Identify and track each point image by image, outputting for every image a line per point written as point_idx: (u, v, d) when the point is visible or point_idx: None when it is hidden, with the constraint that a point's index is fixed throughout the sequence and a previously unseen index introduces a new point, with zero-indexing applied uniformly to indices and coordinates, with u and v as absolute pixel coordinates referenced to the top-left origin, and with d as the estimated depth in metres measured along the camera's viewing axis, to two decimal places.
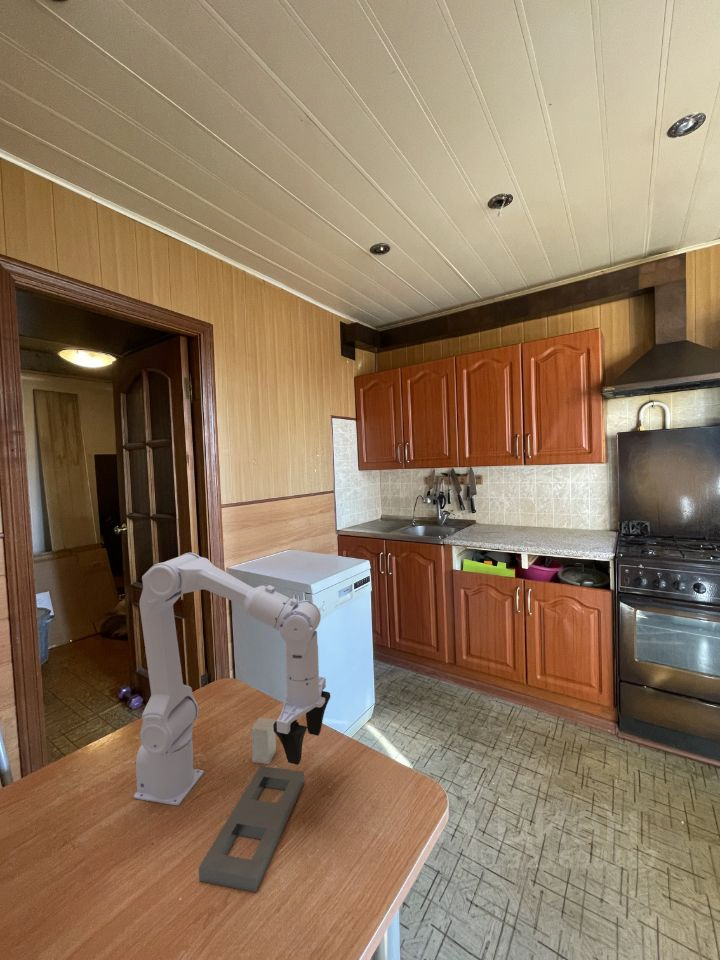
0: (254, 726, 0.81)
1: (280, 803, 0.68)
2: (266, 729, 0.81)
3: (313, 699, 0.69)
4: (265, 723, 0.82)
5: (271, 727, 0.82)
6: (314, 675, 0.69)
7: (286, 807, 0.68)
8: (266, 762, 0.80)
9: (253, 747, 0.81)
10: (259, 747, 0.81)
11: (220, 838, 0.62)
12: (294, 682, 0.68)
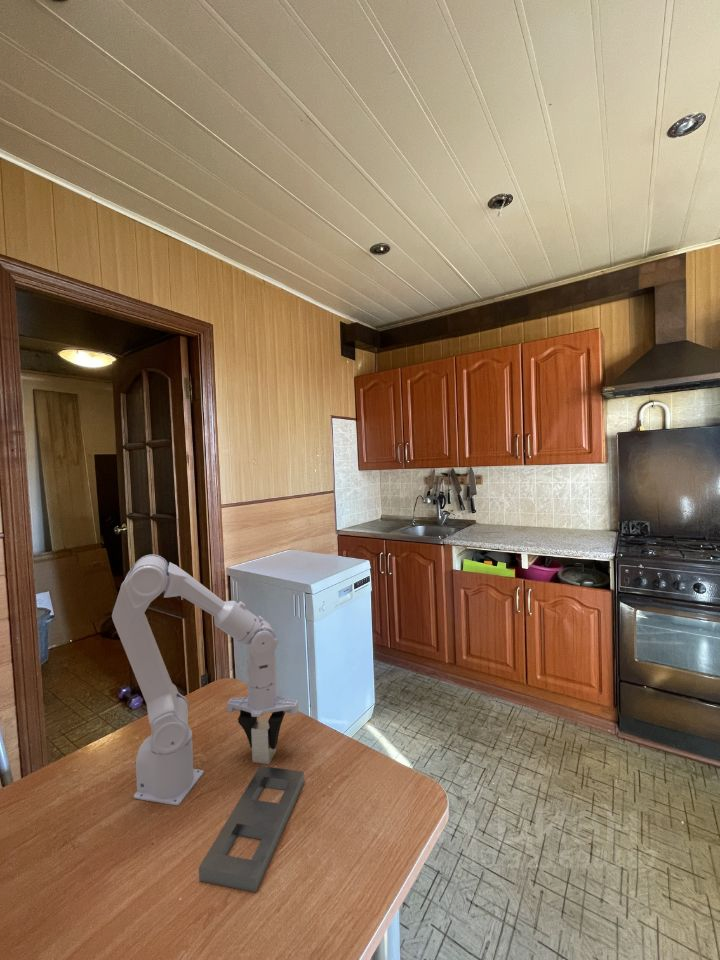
0: (254, 726, 0.81)
1: (280, 803, 0.68)
2: (266, 729, 0.81)
3: (252, 706, 0.80)
4: (265, 723, 0.82)
5: None
6: (275, 679, 0.82)
7: (286, 807, 0.68)
8: (266, 762, 0.80)
9: (253, 747, 0.81)
10: (259, 747, 0.81)
11: (220, 838, 0.62)
12: None
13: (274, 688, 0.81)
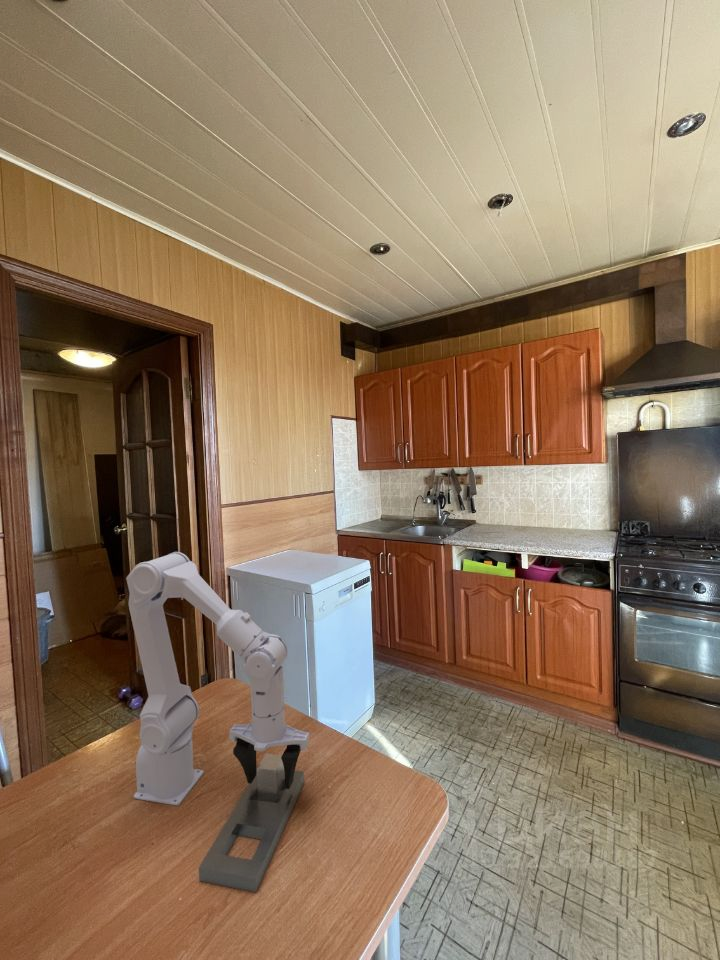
0: (260, 765, 0.71)
1: (280, 803, 0.68)
2: (274, 768, 0.70)
3: (256, 737, 0.69)
4: (273, 761, 0.71)
5: (280, 766, 0.71)
6: (278, 711, 0.69)
7: (286, 807, 0.68)
8: None
9: (259, 789, 0.70)
10: (266, 790, 0.70)
11: (220, 838, 0.62)
12: None
13: (281, 717, 0.70)
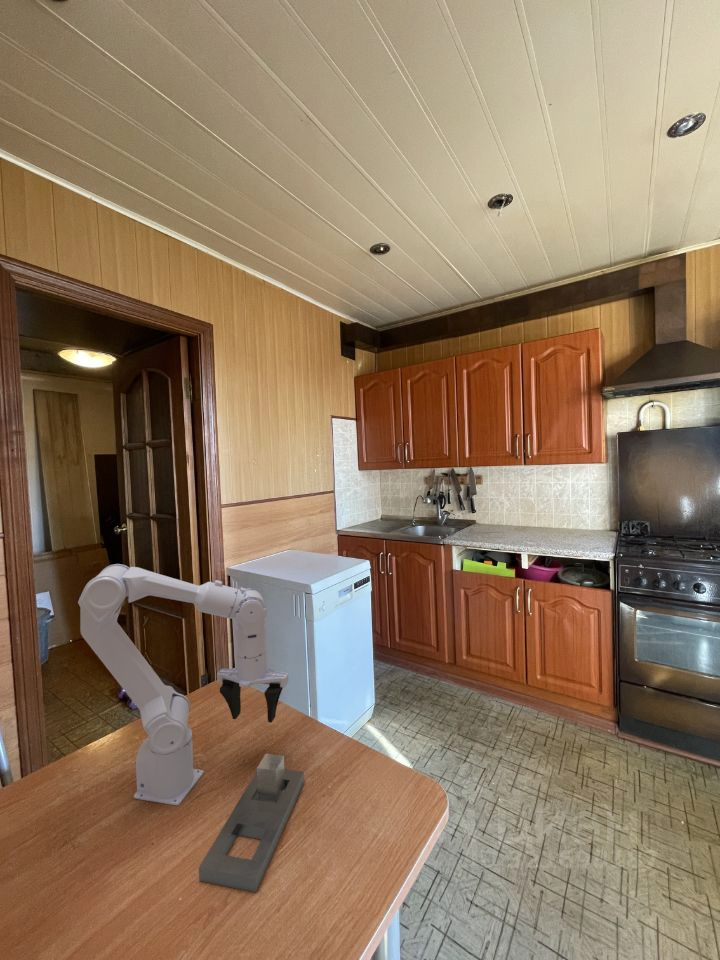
0: (260, 765, 0.71)
1: (280, 803, 0.68)
2: (274, 768, 0.70)
3: (241, 676, 0.78)
4: (273, 761, 0.71)
5: (280, 766, 0.71)
6: (265, 650, 0.80)
7: (286, 807, 0.68)
8: None
9: (259, 789, 0.70)
10: (266, 790, 0.70)
11: (220, 838, 0.62)
12: None
13: (264, 659, 0.79)
